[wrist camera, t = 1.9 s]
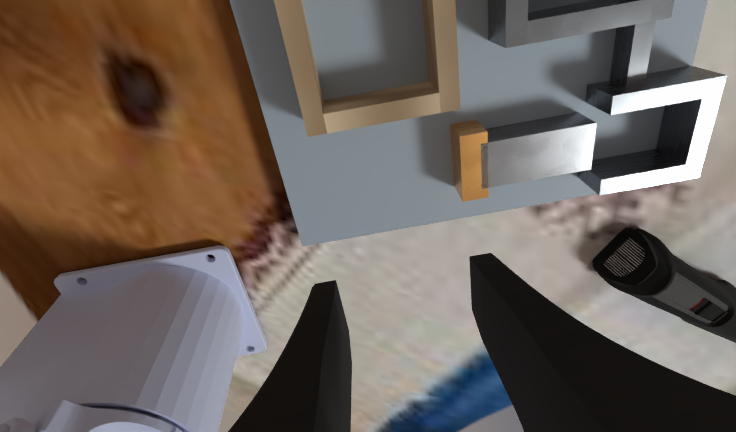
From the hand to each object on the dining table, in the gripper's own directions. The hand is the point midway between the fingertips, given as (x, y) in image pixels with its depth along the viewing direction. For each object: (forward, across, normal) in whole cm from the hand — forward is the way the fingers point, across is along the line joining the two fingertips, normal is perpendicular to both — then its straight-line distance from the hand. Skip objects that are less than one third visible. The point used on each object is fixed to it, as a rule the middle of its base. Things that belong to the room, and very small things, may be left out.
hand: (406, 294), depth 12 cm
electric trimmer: (+10, -18, +12) cm, 24 cm away
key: (+9, -7, 0) cm, 11 cm away
